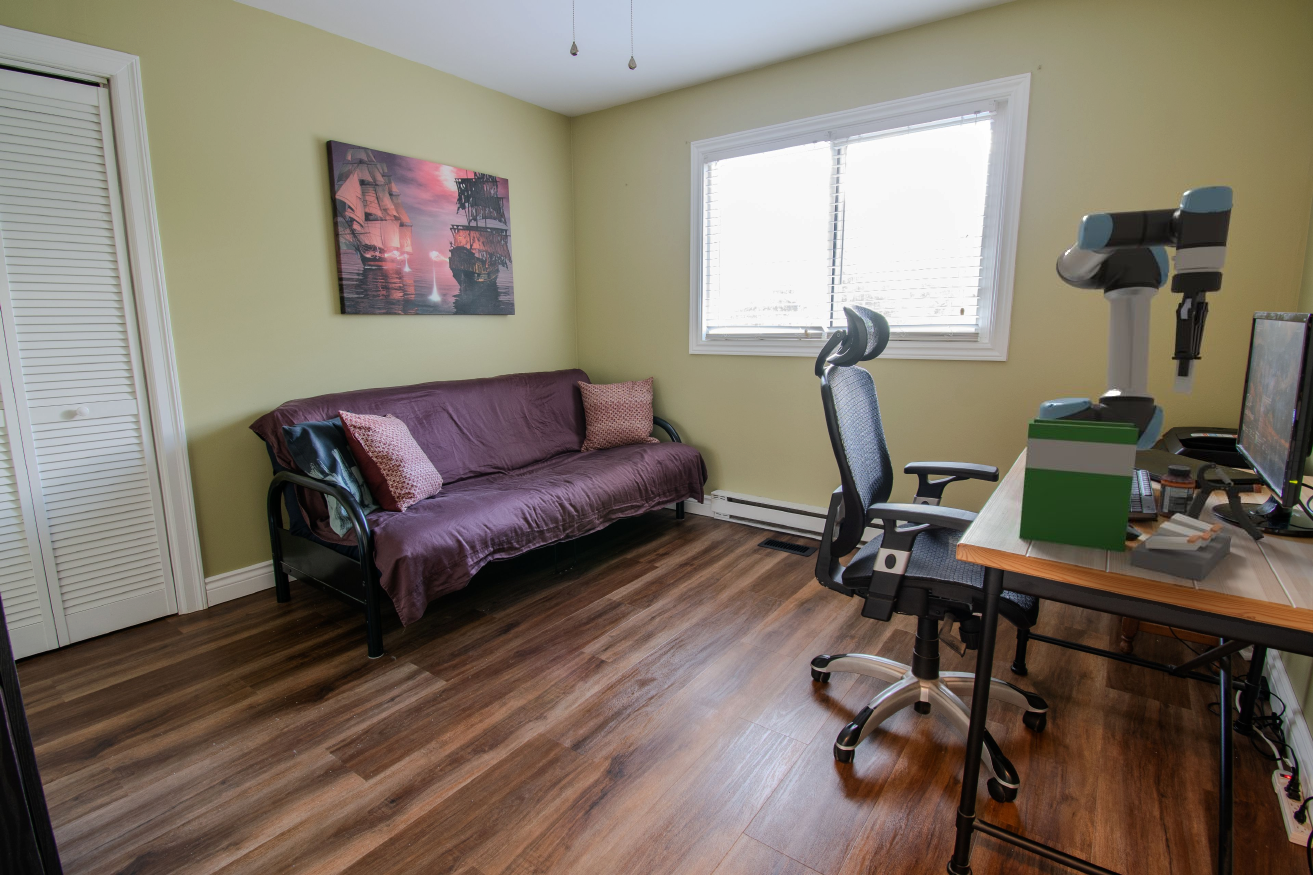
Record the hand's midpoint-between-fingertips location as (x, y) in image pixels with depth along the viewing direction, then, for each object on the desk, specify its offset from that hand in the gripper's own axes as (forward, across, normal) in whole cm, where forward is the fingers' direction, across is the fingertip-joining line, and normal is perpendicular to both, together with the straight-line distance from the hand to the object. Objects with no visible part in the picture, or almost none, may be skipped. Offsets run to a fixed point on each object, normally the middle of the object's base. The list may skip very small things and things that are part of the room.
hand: (1182, 392), depth 128 cm
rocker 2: (+25, +8, +6) cm, 27 cm away
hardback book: (+30, +19, -11) cm, 37 cm away
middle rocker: (+25, +15, +6) cm, 30 cm away
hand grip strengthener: (+30, -6, +8) cm, 31 cm away
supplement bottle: (+30, -16, -2) cm, 34 cm away
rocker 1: (+25, +22, +6) cm, 34 cm away
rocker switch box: (+29, +12, +6) cm, 33 cm away
